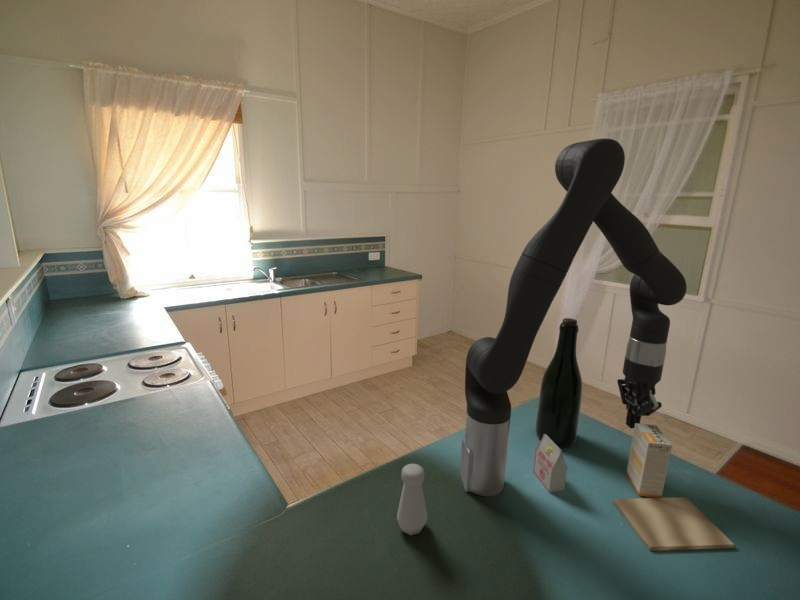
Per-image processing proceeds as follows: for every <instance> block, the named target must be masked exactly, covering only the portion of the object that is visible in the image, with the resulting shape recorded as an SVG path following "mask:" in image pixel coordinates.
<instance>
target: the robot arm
mask: <svg viewBox="0 0 800 600" xmlns="http://www.w3.org/2000/svg"><path fill="white" fill-rule="evenodd" d="M625 162H626V155H625V150H624V148H623V146H622V145H621V143H620V142H618V141H617V140H615V139H614V138H613V139H612V138H596V139H589V140H585V141H579V142H575V143H571V144H569V145H568V146H566V147H563V149H562V150H561V151H559V154H558V156H557V158H556V160H555V165H554V173H555V177H556V179H557V182H559V184H560V185H561V187H562V188H563V189H564V190H565V192H566V194H565V196H564V198H563V199H562V201H561V204H560V205H559V207H558V208H557V210H556V211H555V212H554V214H553V215H552V217H550V218H549V220H548V221H546V223H545V224H544V225H543V226H542V227H541V228H540V229H539V230H538V231H537V232H536V233H535V234H534V235H533V236H532V238H531V239H530V240H529V241H528V243H527V244H526V246H524V249H523V250H522V252H521V254H520V257H519V258H518V260H517V263H516V265H515V267H514V270H513V272H512V273H511V275H510V276H511V277H510V281H509V283H508V284H509V285H508V290H507V300H506V307H505V314H504V318H503V321H502V324H501V326H500V329H499V330H498V333H497V335H496V336H495V337H490V336H486V337H481V338H479V339H478V340H475V342H473V343H472V344H471V346H470V347H469V349H468V351H467V354H466V358H465V359H466V360H465V370H464V371H465V374H464V393H465V394H464V395H465V396H464V397H465V401H466V412H465V413H466V416H465V432H464V433H465V434H464V436H463V437H461V453H460V454H461V455H460V469H459V471H460V472H459V475H460V478H461V481H462V485H463V488H464V491H465V492H468V493H469V492H471V493H473V494H475V495H479V496H482V497H493V496H497V495H499V494H500V493H501V492H502V491H503V490H504V488H505V481H506V480H505V479H506V469H507V468H506V467H507V457H508V450H509V449H508V448H509V437H510V426H511V417H512V416H511V415H512V404H511V403H512V402H511V400H510V397H509V395H508V391H510V390H511V389H512V388H514V386H515V385H516V384H517V383H518V381H519V379H520V378H521V376H522V374H523V371H524V369H525V366H526V363H527V360H528V358H529V356H530V352H531V350H532V347H533V344H534V341H535V339H536V337H537V335H538V333H539V330H540V328H541V326H542V323H543V322H544V320H545V317H546V316H547V314H548V311H549V310H550V307H551V305H552V304H553V301H554V299H555V298H556V295H557V294H558V292H559V290H560V288H561V286H562V284H563V283H564V280H565V278H566V276H567V273H568V272H569V270H570V268H571V265H572V263H573V261H574V259H575V257H576V255H577V254H578V251H579V249H580V247H581V246H582V244H583V242H584V240H585V238H586V236H587V234H588V232H589V230H590V228H591V226H592V224H593V223H594V224H595V225H596V227H597V228H598V229H599V231H600V232H601V233H602V234H603V236H604V237H605V239H606V240H607V242H608V243H609V245H610V246H611V249H613V251H614V253H615V255H616V256H617V258H618V260H619V261H620V263H621V264H622V266H623V267H624V268H625V270H627V271H628V272H630V273H631V274H632V275H633V276H632V278H631V280H630V283H629V299H630V300H629V301H630V307H631V314H632V315H631V316H632V321H631V327H630V332H629V333H630V334H629V338H628V341H627V344H626V350H625V355H624V361H623V366H622V367H623V368H622V374H623V375H624V378H622V379H620V378H618V379H617V382H616V383H617V385H618V390H619V393H620V394H619V395H620V399H621V402H622V404H623V405H625V407H626V410H627V413H626V418H625V421H626V422H625V424H626V426H627V427H629V429H634V427H635V423H640V424H641V419H642V417H649V416H651V415H653V414H654V413H655V412H657V411H658V410H659V409H660V408H662V405H663V404H662V402H661V401H657V400H656V397H655V395H656V386H657V384H658V383H660V382H661V380H662V374H663V372H664V371H663V370H664V364H665V360H666V355H667V342H668V336H669V331H670V326H671V320H670V319H671V318H669V317H668V315H666V314H665V313H664V312H662V311H661V309H660V307H659V305H663V306H674V305H677V304H678V303H681V301H682V300H683V299H684V297H686V294H687V281H686V279H685V277H684V275H683V273H682V272H681V271H680V270H679V269H678V267H677V266H676V265H675V264H674V263H673V262H672V261H671V260H669V258H668V257H666V256H665V255H664V254H663V253H662V252H661V251H660V250H659V249H660V248H659V247H658V246H657V244H656V241H654V239H653V236H652V235H651V233H650V231H649V230H648V229H647V227H646V225H644V223H643V222H642V220H640V219H639V218H638V217H637V216H636V215H634V213H632V212H631V211H630V210H629V209H628V208H627V207H626V206H624V205H623V204H622V202H620V201H619V200H618V199H617V197H616V196H615V195H614V194H613V193H612V192H613V191H614V189H615V187H616V185H617V184H618V182H619V180H620V179H621V176H622V174H623V171H624V168H625Z"/></svg>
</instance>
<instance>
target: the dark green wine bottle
mask: <svg viewBox="0 0 800 600" xmlns="http://www.w3.org/2000/svg"><path fill="white" fill-rule="evenodd" d="M558 331H559V333H558V339H557V344H556V348H555V352H554V354H553V357H552V358H551V360H550V362H549V364H548V365H547V368H546V369H545V371H544V373H543V375H542V379H541V383H540V389H539V395H538V404H537V410H536V418H535V427H534V433H535V435H536V437H537V438H538V439H539V440H541V439H542V437H543V435H544V434H546V435H547V436H548V437H549V438H550V439H551V440H552V441H553V442H554V443H555V444H556V445H557V446H558V447H559V448H564V447H566V448H567V447H571V446H572V445H574V444H575V443H576V442H577V438H578V433H579V432H578V431H579V424H580V416H581V415H580V414H581V409H582V408H581V407H582V396H583V378H582V375H581V372H580V371H581V370H580V366H579V364H578V359H577V342H578V341H577V340H578V333H579V325H578V321H577V319H574V318H570V317H569V318H568V317H566V318H563V319H562V322H560V324H559V328H558Z"/></svg>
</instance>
